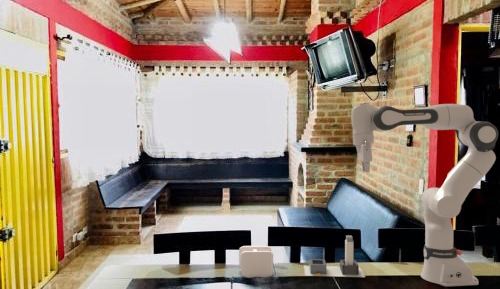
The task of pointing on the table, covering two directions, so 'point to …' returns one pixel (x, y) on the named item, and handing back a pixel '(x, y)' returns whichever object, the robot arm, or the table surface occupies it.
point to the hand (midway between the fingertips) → (366, 171)
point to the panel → (339, 270)
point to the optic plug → (349, 250)
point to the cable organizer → (256, 261)
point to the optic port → (317, 266)
